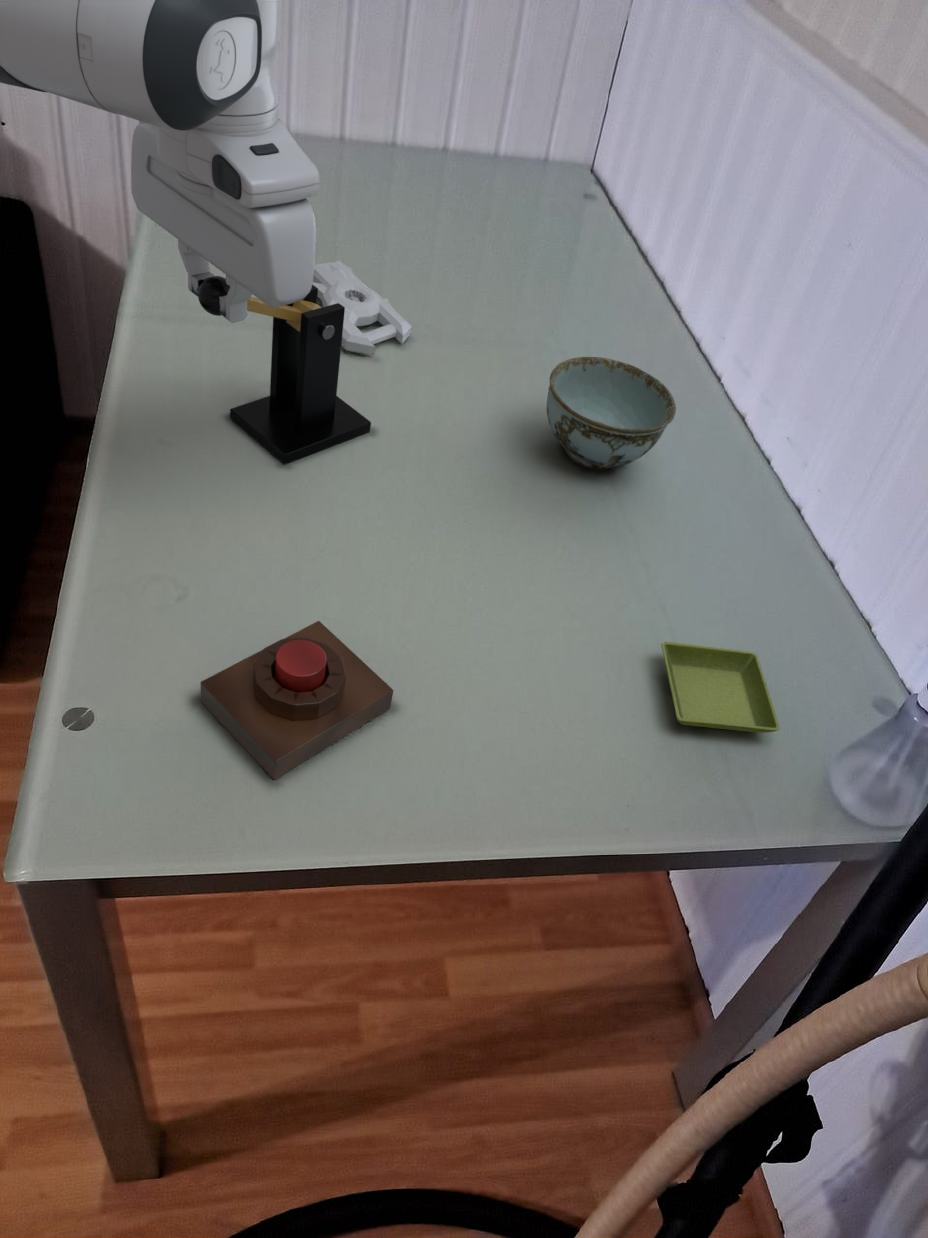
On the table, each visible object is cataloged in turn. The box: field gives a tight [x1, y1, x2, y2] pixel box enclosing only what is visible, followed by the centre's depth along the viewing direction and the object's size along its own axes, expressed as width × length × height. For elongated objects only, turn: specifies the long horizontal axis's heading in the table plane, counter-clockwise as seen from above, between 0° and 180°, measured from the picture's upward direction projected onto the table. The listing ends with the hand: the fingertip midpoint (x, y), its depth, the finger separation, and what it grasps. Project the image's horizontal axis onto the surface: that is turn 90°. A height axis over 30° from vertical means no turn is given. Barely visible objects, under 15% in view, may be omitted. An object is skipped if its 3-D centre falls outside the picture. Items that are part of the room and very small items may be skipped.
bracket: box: [229, 285, 372, 465], centre depth 94 cm, size 11×9×14 cm
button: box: [275, 640, 326, 692], centre depth 70 cm, size 4×4×2 cm
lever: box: [197, 275, 323, 332], centre depth 85 cm, size 14×3×3 cm, turn 134°
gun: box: [312, 259, 412, 356], centre depth 115 cm, size 18×3×10 cm
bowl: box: [546, 356, 677, 471], centre depth 101 cm, size 14×13×8 cm
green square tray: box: [661, 641, 780, 734], centre depth 80 cm, size 9×9×2 cm
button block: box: [199, 620, 394, 781], centre depth 71 cm, size 11×9×4 cm
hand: (217, 305), depth 82 cm, fingers closed on lever, 3 cm apart
